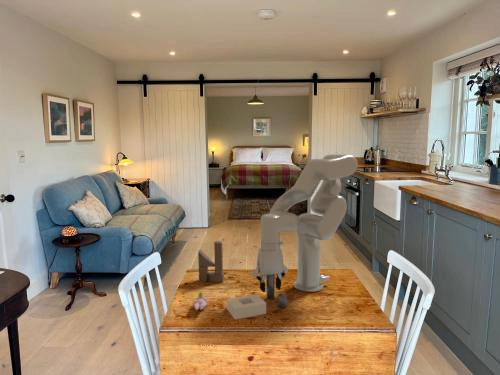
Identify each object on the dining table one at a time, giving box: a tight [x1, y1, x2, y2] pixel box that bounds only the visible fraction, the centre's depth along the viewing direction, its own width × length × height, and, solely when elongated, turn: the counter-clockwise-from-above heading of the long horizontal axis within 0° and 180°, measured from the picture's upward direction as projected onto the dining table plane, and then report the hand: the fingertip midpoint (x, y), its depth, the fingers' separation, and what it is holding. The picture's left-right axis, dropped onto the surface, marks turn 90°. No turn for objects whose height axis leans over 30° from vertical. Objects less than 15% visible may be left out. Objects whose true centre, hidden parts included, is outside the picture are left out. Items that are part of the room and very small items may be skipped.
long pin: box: [265, 274, 276, 301], centre depth 149 cm, size 3×3×11 cm
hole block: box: [226, 293, 267, 320], centre depth 138 cm, size 12×9×4 cm
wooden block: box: [197, 240, 225, 283], centre depth 168 cm, size 4×11×18 cm, turn 85°
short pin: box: [277, 293, 288, 310], centre depth 142 cm, size 3×3×4 cm
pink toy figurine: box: [192, 291, 210, 311], centre depth 142 cm, size 6×6×15 cm
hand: (270, 289), depth 150 cm, fingers open, 5 cm apart
